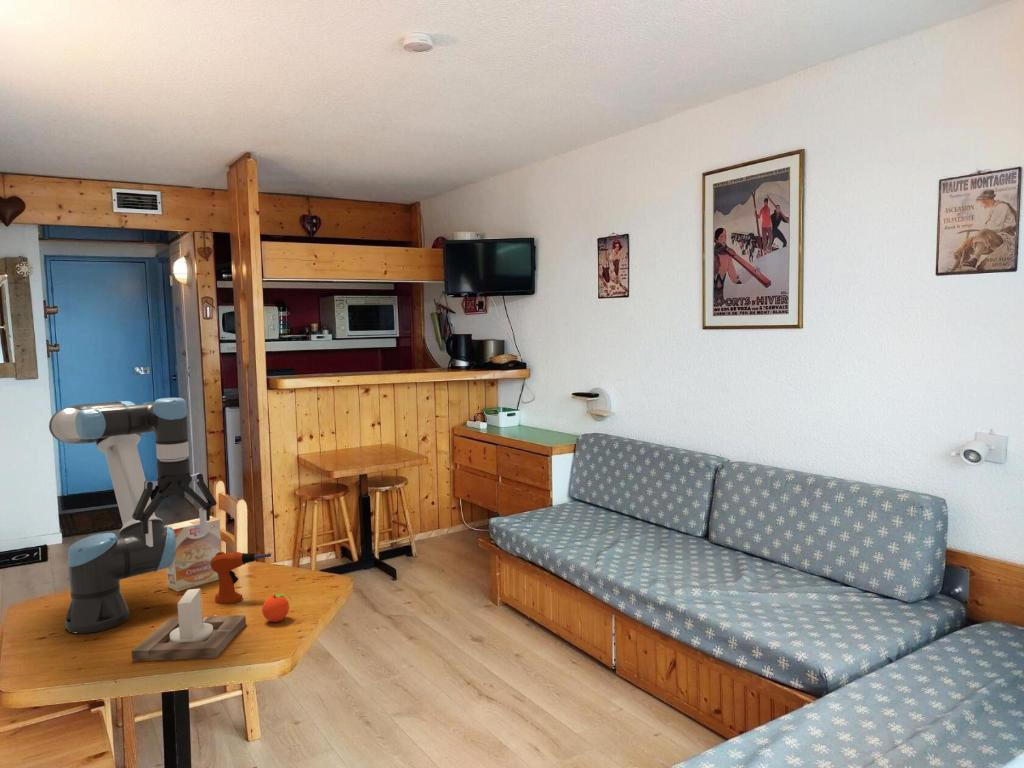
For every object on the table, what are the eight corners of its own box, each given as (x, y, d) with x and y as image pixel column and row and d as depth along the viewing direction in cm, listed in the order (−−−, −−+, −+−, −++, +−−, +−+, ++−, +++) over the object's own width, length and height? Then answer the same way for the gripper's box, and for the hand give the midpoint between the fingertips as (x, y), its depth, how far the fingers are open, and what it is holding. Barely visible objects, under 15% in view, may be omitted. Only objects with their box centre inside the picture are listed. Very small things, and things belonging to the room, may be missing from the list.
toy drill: (275, 598, 207) (265, 547, 206) (212, 606, 209) (203, 556, 208) (281, 592, 212) (272, 542, 211) (220, 600, 214) (211, 551, 213)
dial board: (132, 661, 173) (131, 650, 172) (170, 627, 193) (169, 617, 192) (216, 658, 173) (215, 647, 173) (245, 624, 193) (245, 614, 193)
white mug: (208, 644, 179) (205, 601, 178) (165, 648, 177) (162, 605, 176) (220, 622, 192) (217, 582, 192) (180, 626, 191) (177, 585, 190)
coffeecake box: (177, 592, 219) (172, 529, 218) (166, 587, 224) (162, 525, 223) (224, 578, 231) (220, 518, 229) (213, 574, 235) (209, 515, 234)
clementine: (286, 612, 200) (285, 587, 200) (298, 619, 195) (296, 593, 195) (258, 621, 195) (256, 595, 194) (269, 628, 190) (268, 602, 189)
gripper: (215, 449, 196) (218, 526, 198) (115, 463, 179) (120, 547, 181) (227, 453, 191) (230, 531, 193) (125, 468, 173) (130, 554, 175)
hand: (177, 539), depth 187 cm, fingers open, 13 cm apart
